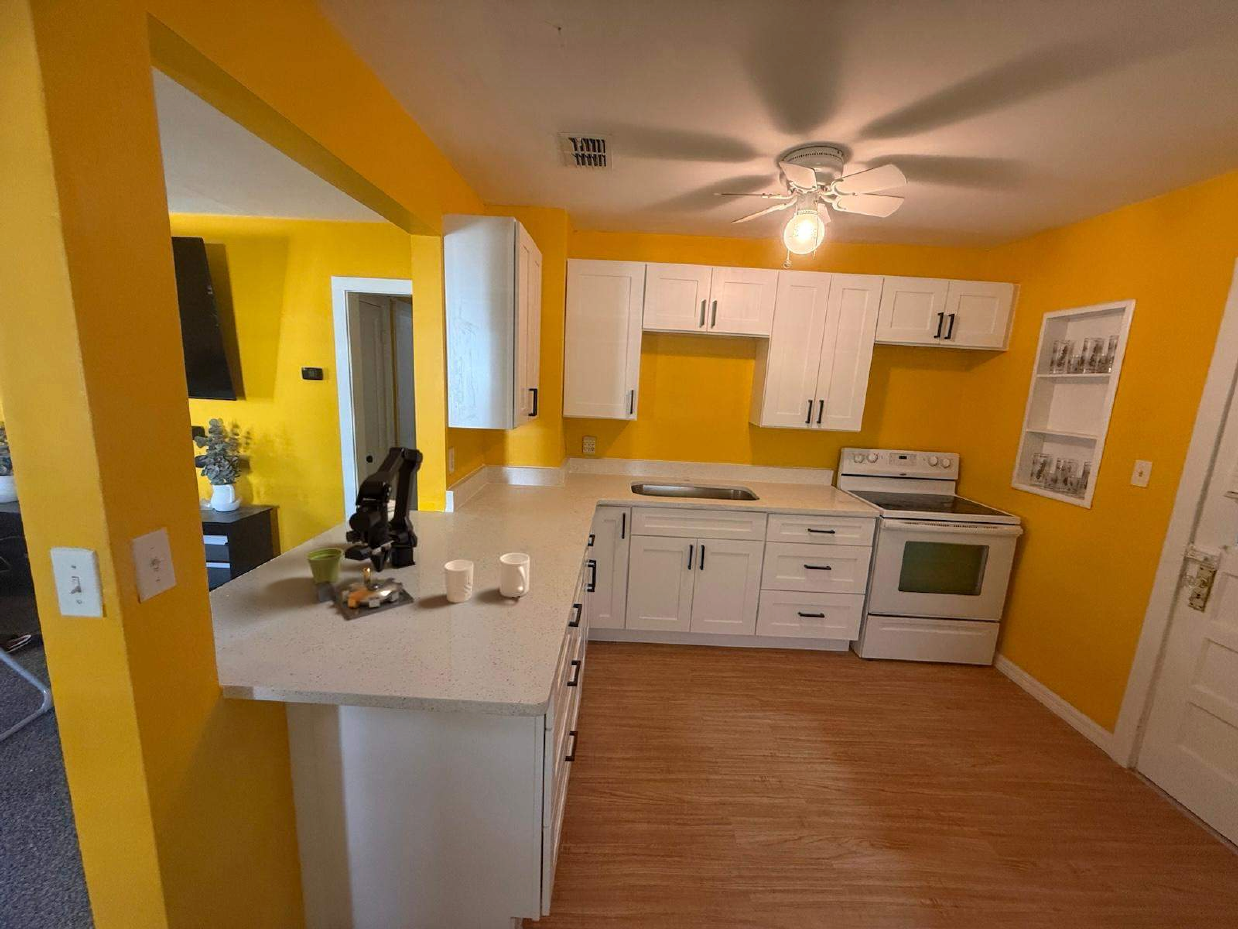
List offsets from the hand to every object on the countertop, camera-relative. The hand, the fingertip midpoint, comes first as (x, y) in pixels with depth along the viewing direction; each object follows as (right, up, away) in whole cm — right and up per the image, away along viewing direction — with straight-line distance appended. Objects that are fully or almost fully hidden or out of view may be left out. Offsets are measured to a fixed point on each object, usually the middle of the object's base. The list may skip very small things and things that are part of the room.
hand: (379, 572), depth 136 cm
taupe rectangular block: (-11, -5, -8) cm, 15 cm away
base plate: (+3, -6, -8) cm, 10 cm away
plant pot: (-17, -3, +2) cm, 18 cm away
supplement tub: (-14, +1, +30) cm, 33 cm away
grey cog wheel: (+3, -5, -8) cm, 10 cm away
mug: (+41, -7, 0) cm, 41 cm away
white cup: (+25, -7, -4) cm, 26 cm away
